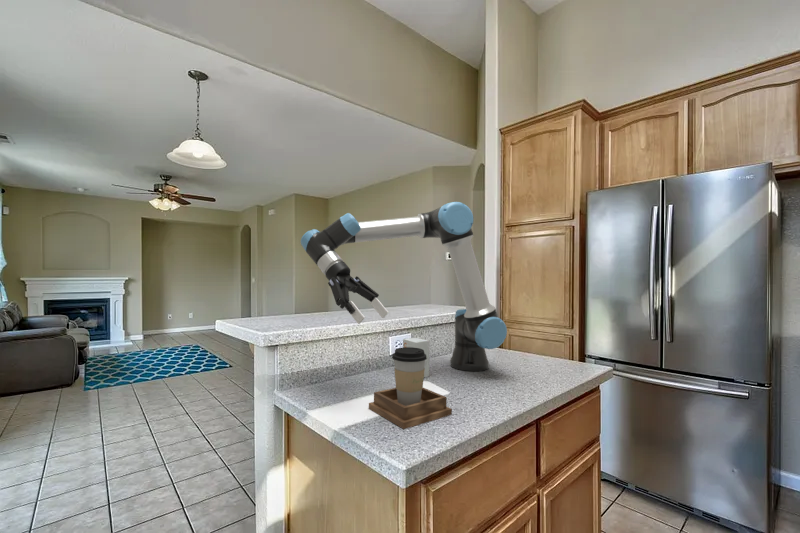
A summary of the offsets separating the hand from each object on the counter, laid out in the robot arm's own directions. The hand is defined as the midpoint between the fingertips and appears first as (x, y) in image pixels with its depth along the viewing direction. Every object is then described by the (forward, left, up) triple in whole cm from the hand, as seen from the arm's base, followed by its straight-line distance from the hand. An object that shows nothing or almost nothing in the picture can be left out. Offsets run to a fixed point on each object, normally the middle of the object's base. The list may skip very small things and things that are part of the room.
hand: (374, 318), depth 111 cm
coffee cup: (-2, +15, -22) cm, 27 cm away
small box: (-25, -11, -24) cm, 36 cm away
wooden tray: (-2, +15, -24) cm, 28 cm away
